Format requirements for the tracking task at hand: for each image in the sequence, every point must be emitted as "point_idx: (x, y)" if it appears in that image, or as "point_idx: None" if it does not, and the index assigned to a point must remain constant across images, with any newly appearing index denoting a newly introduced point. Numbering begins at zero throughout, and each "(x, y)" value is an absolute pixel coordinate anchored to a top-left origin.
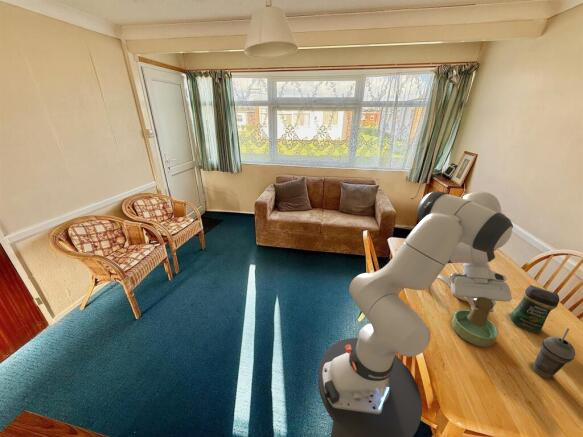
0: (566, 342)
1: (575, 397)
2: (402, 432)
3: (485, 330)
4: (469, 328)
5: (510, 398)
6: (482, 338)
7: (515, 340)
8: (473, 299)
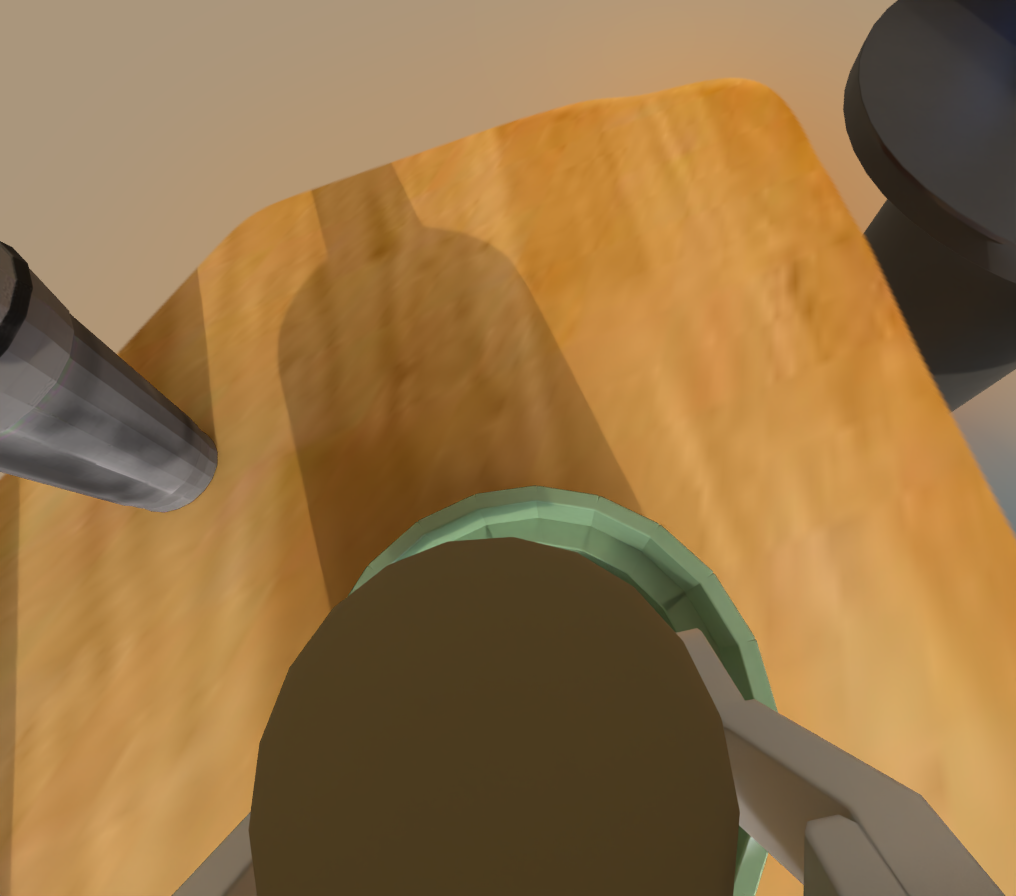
0: None
1: None
2: (916, 10)
3: None
4: None
5: (464, 235)
6: (520, 491)
7: (160, 742)
8: (830, 857)
